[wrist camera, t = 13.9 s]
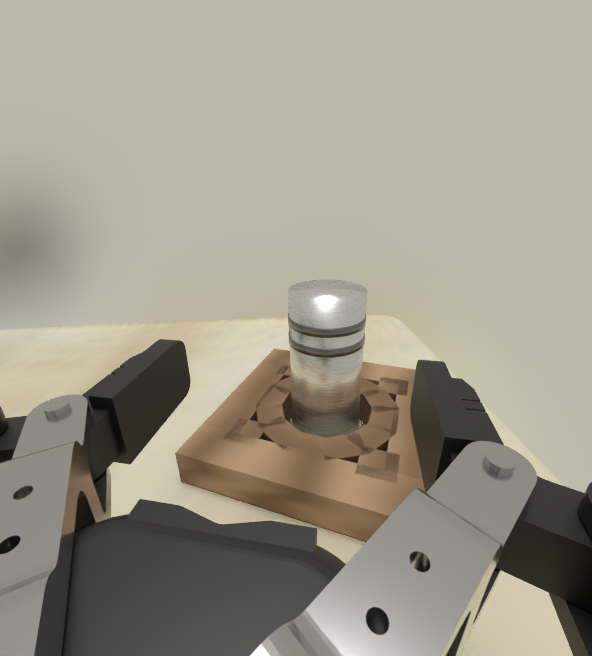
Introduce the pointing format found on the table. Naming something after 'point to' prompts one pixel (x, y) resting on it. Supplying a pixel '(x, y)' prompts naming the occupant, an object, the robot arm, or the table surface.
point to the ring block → (309, 451)
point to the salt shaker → (326, 355)
